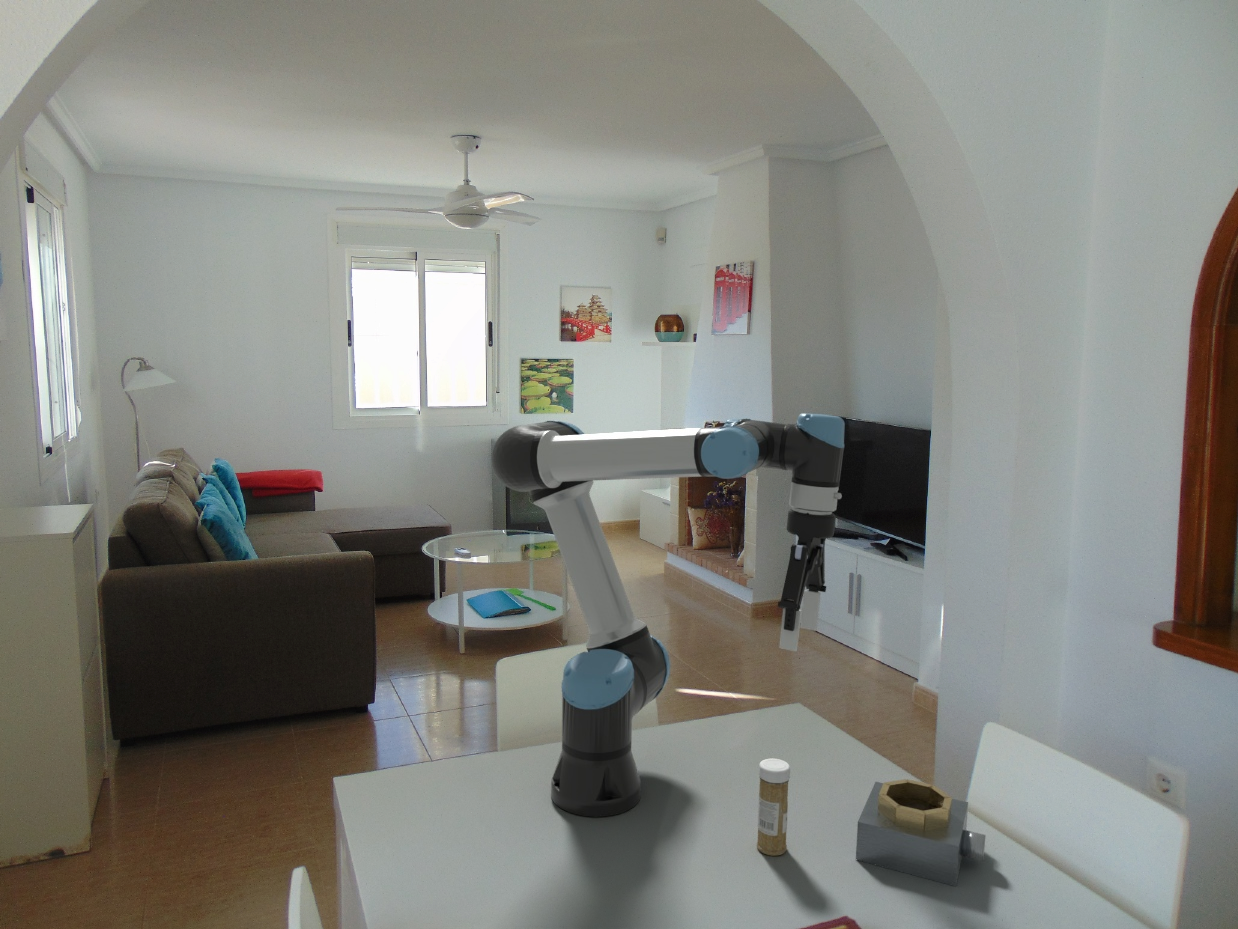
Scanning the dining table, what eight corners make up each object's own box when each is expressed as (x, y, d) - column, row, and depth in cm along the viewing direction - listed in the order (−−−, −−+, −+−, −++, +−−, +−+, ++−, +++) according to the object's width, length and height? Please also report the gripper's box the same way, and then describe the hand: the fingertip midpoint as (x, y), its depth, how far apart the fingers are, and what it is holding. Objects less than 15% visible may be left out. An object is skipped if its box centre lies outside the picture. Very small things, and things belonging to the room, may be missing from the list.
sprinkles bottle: (792, 851, 133) (796, 766, 132) (770, 860, 131) (774, 774, 129) (771, 837, 137) (775, 754, 135) (749, 845, 135) (752, 761, 133)
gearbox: (855, 859, 131) (858, 805, 130) (873, 816, 144) (876, 766, 143) (978, 892, 124) (983, 835, 123) (986, 843, 136) (990, 791, 135)
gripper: (818, 523, 129) (803, 664, 132) (850, 505, 152) (837, 625, 154) (768, 516, 132) (754, 653, 135) (807, 499, 155) (794, 617, 157)
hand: (798, 639), depth 144 cm, fingers open, 13 cm apart
